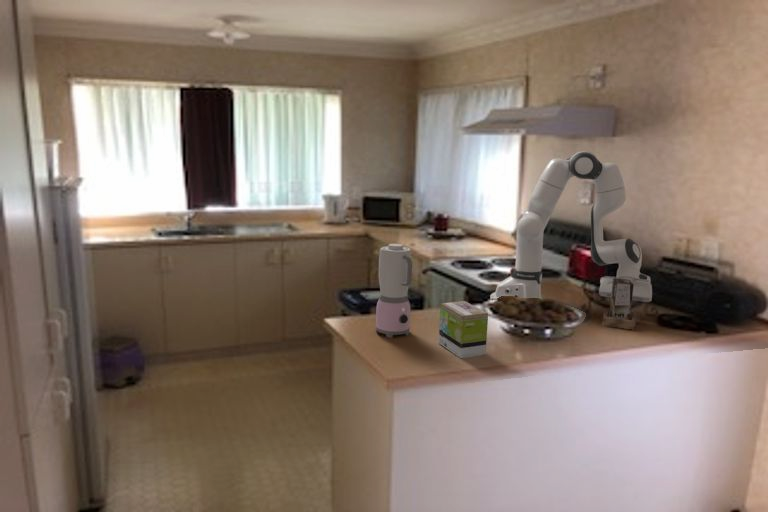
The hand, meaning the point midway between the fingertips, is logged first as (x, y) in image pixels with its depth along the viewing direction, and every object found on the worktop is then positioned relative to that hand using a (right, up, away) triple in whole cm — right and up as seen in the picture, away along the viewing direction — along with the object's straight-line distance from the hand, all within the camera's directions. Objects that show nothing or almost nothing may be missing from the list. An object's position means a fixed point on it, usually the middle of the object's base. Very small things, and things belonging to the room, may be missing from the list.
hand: (623, 306), depth 241 cm
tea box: (-71, -11, -42) cm, 84 cm away
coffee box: (-3, -5, -4) cm, 7 cm away
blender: (-93, -7, -29) cm, 98 cm away
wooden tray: (-5, -6, -8) cm, 11 cm away
